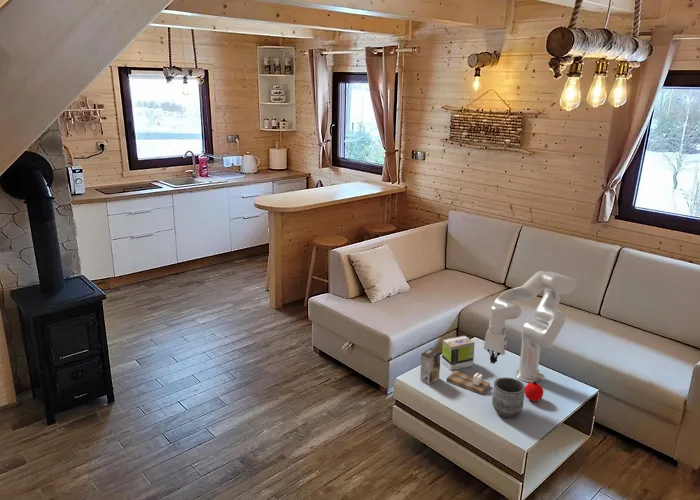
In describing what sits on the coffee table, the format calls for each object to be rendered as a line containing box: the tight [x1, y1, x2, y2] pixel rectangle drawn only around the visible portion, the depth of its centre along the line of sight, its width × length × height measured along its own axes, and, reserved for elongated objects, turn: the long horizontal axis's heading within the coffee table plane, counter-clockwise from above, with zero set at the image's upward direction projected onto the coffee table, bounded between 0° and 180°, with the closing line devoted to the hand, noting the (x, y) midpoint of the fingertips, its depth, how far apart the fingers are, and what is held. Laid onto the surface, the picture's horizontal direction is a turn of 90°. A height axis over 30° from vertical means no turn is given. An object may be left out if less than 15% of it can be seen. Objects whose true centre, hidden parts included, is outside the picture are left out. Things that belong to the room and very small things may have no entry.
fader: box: [472, 372, 483, 385], centre depth 270 cm, size 3×4×5 cm
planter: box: [491, 377, 526, 419], centre depth 248 cm, size 14×14×15 cm
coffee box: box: [419, 347, 442, 385], centre depth 276 cm, size 9×6×16 cm
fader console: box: [446, 369, 491, 395], centre depth 274 cm, size 20×10×2 cm, turn 52°
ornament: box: [524, 381, 544, 402], centre depth 260 cm, size 9×9×10 cm
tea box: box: [441, 335, 475, 371], centre depth 292 cm, size 15×10×15 cm
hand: (493, 362), depth 262 cm, fingers closed
